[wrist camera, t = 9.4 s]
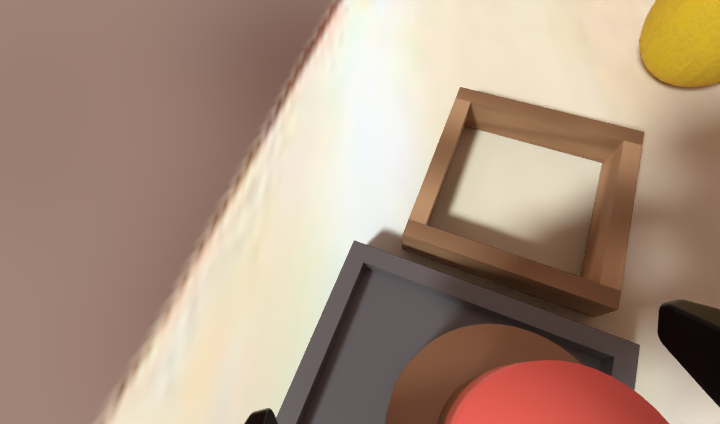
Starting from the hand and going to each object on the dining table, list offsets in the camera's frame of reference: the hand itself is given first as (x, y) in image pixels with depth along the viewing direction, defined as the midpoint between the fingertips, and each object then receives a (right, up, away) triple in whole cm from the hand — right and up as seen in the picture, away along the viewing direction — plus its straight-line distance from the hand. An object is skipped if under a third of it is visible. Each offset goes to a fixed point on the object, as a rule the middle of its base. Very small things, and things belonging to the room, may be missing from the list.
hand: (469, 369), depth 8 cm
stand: (+6, +4, +11) cm, 13 cm away
